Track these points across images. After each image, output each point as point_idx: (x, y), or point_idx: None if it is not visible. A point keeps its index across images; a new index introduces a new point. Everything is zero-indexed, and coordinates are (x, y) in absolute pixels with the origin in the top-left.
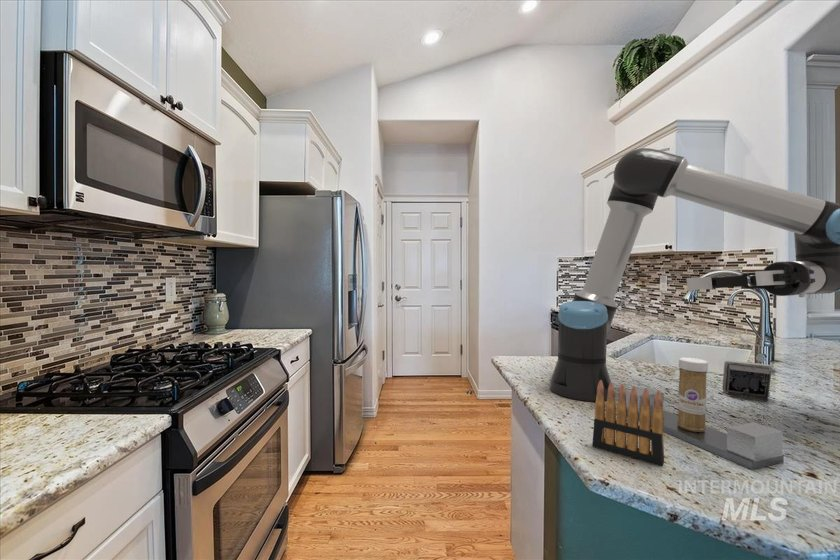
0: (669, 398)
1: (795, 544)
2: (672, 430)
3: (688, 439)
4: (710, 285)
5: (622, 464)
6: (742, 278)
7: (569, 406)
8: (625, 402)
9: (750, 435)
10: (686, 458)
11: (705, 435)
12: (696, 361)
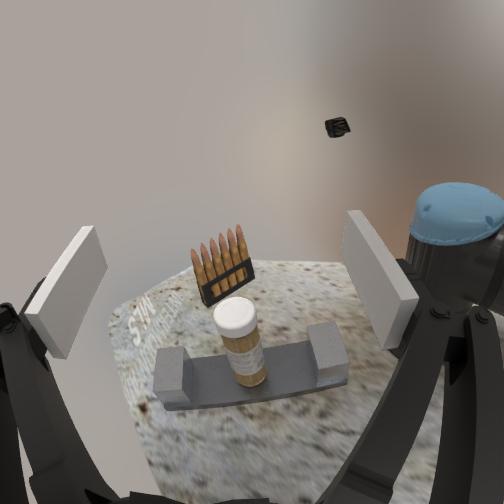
0: None
1: (117, 308)
2: None
3: None
4: (383, 327)
5: None
6: (341, 473)
7: None
8: (220, 249)
9: (161, 348)
10: (206, 329)
11: (228, 372)
12: (220, 305)
